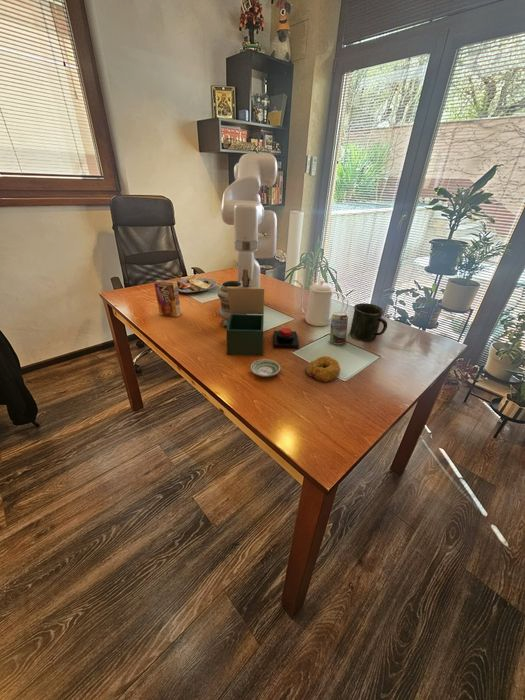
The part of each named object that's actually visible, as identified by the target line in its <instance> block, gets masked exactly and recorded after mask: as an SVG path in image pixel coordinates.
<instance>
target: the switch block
mask: <svg viewBox="0 0 525 700" xmlns="http://www.w3.org/2000/svg"><path fill="white" fill-rule="evenodd" d="M291 331H292V332H291V336H282V335H281V329H279V330H273V348H274V349H291V350H299V347H300V346H299V339H298V333H297V331H295V330H291Z"/></svg>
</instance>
